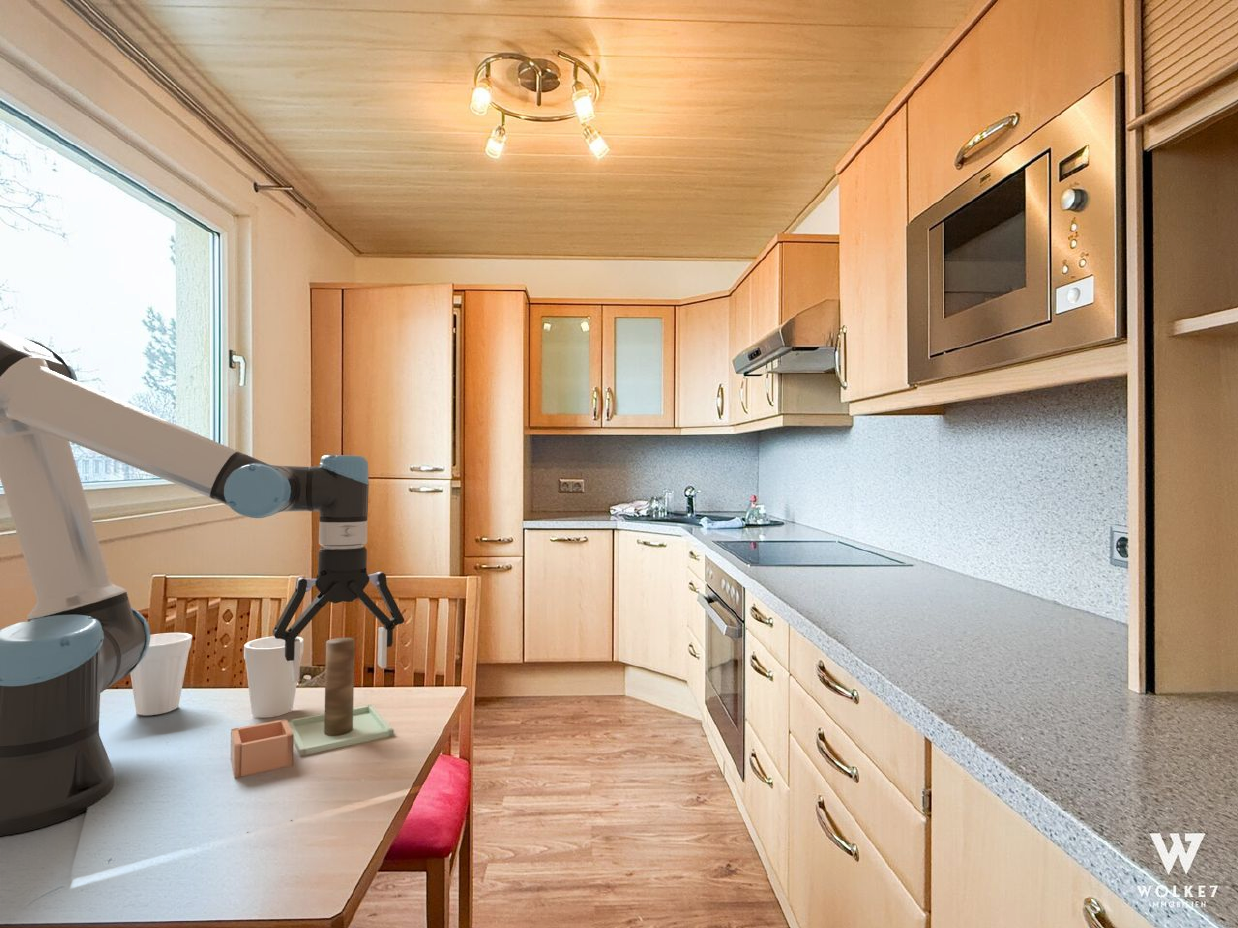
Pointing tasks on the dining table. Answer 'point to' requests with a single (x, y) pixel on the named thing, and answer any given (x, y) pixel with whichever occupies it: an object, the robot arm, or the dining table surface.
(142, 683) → the cup
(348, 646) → the dowel
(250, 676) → the foam cup
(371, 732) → the tray
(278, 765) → the orange open box
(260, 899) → the dining table surface
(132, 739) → the dining table surface
